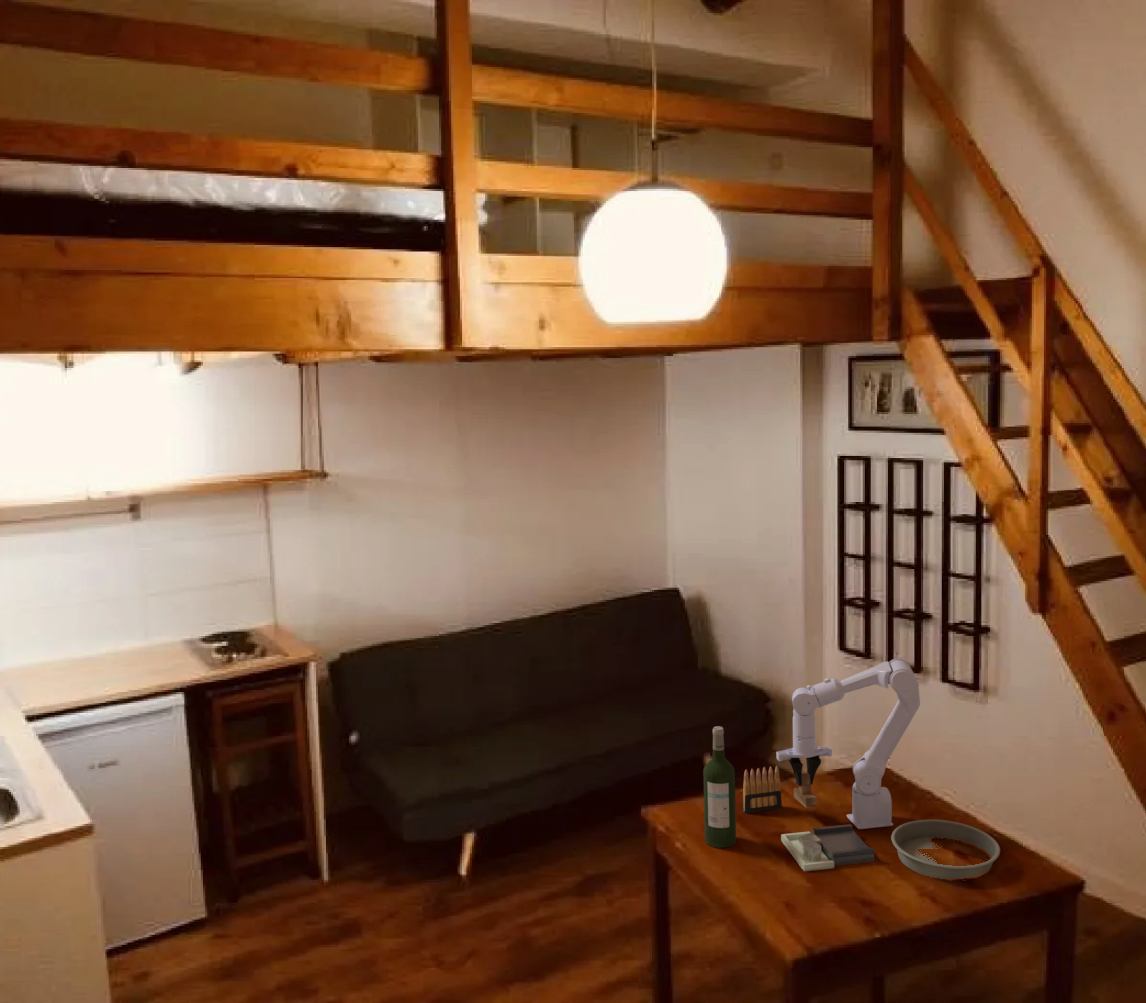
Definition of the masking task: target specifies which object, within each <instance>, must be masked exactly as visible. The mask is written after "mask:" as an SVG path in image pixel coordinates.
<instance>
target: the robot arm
mask: <svg viewBox="0 0 1146 1003" xmlns="http://www.w3.org/2000/svg"><path fill="white" fill-rule="evenodd" d="M823 680H824V681H822V682H819V683H816V684H813V685H811V684H808V685H806V687H799V688H796V689H795V691H793V693H792V696H791V700H792V708H793V710H792V715H793V716H792V747H791V748H787V749H784V750H779V751H776V752H775V753H776V754H775V755H776V757H775V758H776V760H777V761H778V762H783V761H785V760H788V761H789V764H790V767H791V769H792V771H793V773H794V777H795V784H796V785H797V786H798V787H799V786H801V785H802V773H803V767H804V766H803V765H804V764H803V763H802V762H801V759H805V762H806V772H807V773H808V774H810V784H811V786H812V785H813V784H814V780H815V775H816V773H817V772H818V769H819V767H820V766H821V764H822V759H821V757H832V756H833V749H832V748H831V747H830V746H816V718H815V711H816V709H817V708H821V707H824V706H828V705H830V704H832V703H836V702H839V701H842V700H843V699H844V697H845V695H846V693H851V692H853V691H857V690H861V689H864V688H868V687H870V686H874V685H877V686H879V687H882V688H885V689H889V685H890V687H891V688H892V690H893V691H894V693H896V696H897V698H898V700H897V702H896V704H895V706H894V707H893V709H892V711H891V713H890V714H889V716H888V718H887V719H886V721H885V723H884V725H883V726H882V727H881V729H880V731H879V734H878V735H877V737H876V738H875V740H874V741H873V743H872V745H871V747H870V749H868V750H867V751H865V752H864V754H863V755H862V757H860V758H859V759H857V760H856V761H855V762H854V764H853V765H852V773H853V776H854V780H855V782H854V783H853V785H852V789H851V790H852V791H851V792H852V795H851V796H852V804H851V807H852V809H851V810H852V811H851V812H852V813H849V814H846V817H847V819H848V820H849V821H851V823H852V824H853V825H854V826H855V827H856V828H857V830H866V829H873V828H874V829H875V828H885V827H892V826H894V823H893V822H892V820H893V819H892V816H893V815H892V811H893V809H892V808H893V806H892V805H893V804H892V802H893V800H892V796H891V792H890V791H889V789H888V788H887V787H886V786H882V778H883V777H884V774H885V772H886V767H887V763H888V761H889V759H890V757H891V756H892V754H893V752H894V751H895V750H896V748H897V746H898V744H899V742H900V740H901V739H902V737H903V735H904V734H905V732H906V730H907V729H908V727H909V725H910V723H911V722H912V720H913V718H914V716H915V715H916V713H917V711H918V710H919V708H920V706H921V698H920V688H919V686H920V684H919V682H918V680H917V678H916V676H915V673H914V671H913V669H912V667H911V665H910V663H909V662H908V661H907V660H905V659H902V658H893V659H891V660H890V661H883V662H881V663H878V664H877V665H876V666H873V667H870V668H868V669H865V670H863V671H860V672H858V673H856V674H853V675H851V676H848V677H847V678H844V679H842V680H839V679H836V678H834V677H833V678H831V679H830V678H829V677H826V678H824V679H823Z"/></svg>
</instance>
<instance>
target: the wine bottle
mask: <svg viewBox="0 0 1146 1003" xmlns="http://www.w3.org/2000/svg"><path fill="white" fill-rule="evenodd" d="M724 734H725V732H724V727H723V726H719V725H718V726H714V727H713V728H712V757H711V759H710V760H709V761H708V762H707V763H706V764H705V765H704V767H703V773H702V774H703V775H702V776H703V805H704V806H703V809H704V814H703V816H704V841H705V843H706V844H707V845H708V846H710V847H713V848H718V849H725V848H729V847H732V846H735V844H736V842H737V829H736V828H737V823H736V822H737V820H736V819H737V818H736V813H737V812H736V773H735V772H736V771H735V768H734V766H733V765H732V764H731V762H730V761H728V759H726V755H725V754H726V753H725V742H724V741H725V739H724V738H725V737H724Z"/></svg>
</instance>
